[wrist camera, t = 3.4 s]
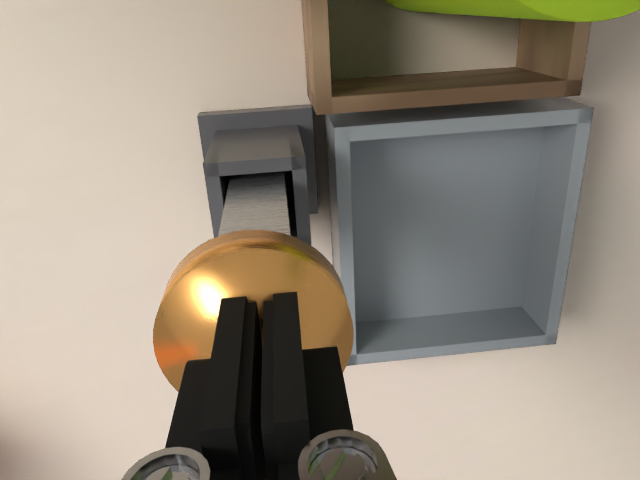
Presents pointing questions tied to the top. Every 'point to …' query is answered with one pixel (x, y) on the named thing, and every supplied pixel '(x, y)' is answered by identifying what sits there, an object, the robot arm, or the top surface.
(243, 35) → the top surface
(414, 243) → the tray
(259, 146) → the plunger collar
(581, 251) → the top surface
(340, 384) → the robot arm
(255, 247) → the plunger
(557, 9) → the soap dispenser
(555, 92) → the wooden box
